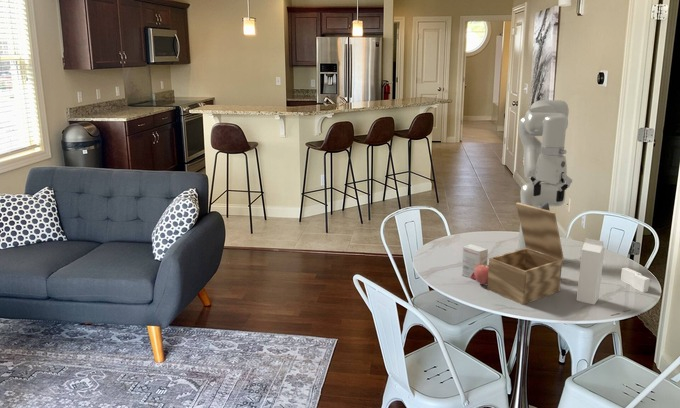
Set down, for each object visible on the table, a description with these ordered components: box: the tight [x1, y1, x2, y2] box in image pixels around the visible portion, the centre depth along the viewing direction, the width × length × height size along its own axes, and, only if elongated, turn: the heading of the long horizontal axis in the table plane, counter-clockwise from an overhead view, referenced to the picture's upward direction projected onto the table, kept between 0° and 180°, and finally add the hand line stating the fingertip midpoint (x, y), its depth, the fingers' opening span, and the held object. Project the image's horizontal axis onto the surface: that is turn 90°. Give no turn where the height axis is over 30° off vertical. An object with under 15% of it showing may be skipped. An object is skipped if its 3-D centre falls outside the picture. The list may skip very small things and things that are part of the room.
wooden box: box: [486, 248, 563, 305], centre depth 206 cm, size 20×16×12 cm
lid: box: [515, 202, 564, 261], centre depth 207 cm, size 20×16×7 cm
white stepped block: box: [620, 267, 651, 293], centre depth 210 cm, size 15×11×6 cm
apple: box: [474, 264, 489, 285], centre depth 212 cm, size 7×7×8 cm
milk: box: [576, 238, 605, 305], centre depth 196 cm, size 6×6×22 cm
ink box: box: [461, 243, 489, 280], centre depth 219 cm, size 9×5×12 cm, turn 39°
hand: (548, 198), depth 205 cm, fingers open, 9 cm apart
